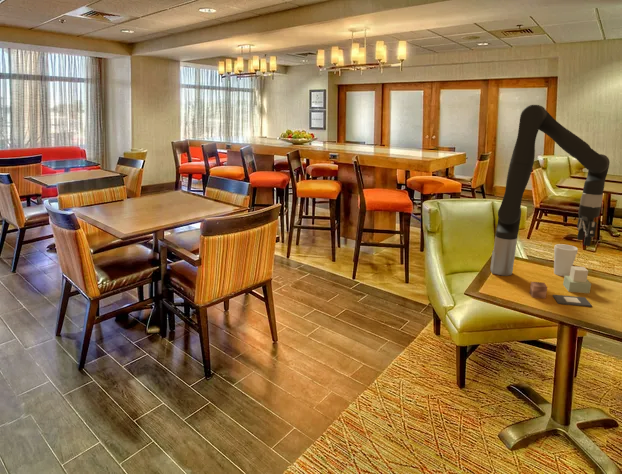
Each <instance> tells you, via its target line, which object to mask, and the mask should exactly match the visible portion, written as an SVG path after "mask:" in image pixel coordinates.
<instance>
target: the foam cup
mask: <svg viewBox="0 0 622 474" xmlns="http://www.w3.org/2000/svg"><path fill="white" fill-rule="evenodd" d="M578 250H579V249H578V247H577V246H576V245H575V246H574V245H571V244H570V245H569V244H563V243H558V244H554V247H553V253H554V254H553V255H554V256H553V260H554V261H553V274H554V275H556V276H560V277H564V276H570V270H571V266H574V262H575V260H576V256H577V254H578Z"/></svg>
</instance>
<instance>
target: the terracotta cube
mask: <svg viewBox="0 0 622 474" xmlns="http://www.w3.org/2000/svg"><path fill="white" fill-rule="evenodd" d="M529 288H530V289H529V294H530V296H531V298H536V299H544V300H545V299H546V298H547V292H548V286H547V285H546V283H545V282H539V281H530V287H529Z"/></svg>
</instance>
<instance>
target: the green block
mask: <svg viewBox="0 0 622 474" xmlns="http://www.w3.org/2000/svg"><path fill="white" fill-rule="evenodd" d="M569 276H570V275H569ZM569 276H563V277H564V278H563V283H562V285H563V287H564V288H565V289H566V290H567V291H568V293H570V292H571V293H579V294H580V293H583V294H590V291H591V287H592V283H591V282H590V281H589V280H588V279H587V281H586V282H577V281H573V280H572V279H571V278H570V277H569Z"/></svg>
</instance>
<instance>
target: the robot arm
mask: <svg viewBox="0 0 622 474" xmlns="http://www.w3.org/2000/svg"><path fill="white" fill-rule="evenodd" d="M539 131H541V132H542V133H544V134H545V135H547V136H548V137H549V138H550V139H551V140H553V142H555V143H556V144H557V145H558V146H559V148H561V149H562V150H563V151H564V152H566V153H567V154H568V155H570V156H571V157H573V158H574V159H575V160H577V161H578V163H580V164H581V165H582V166H583V167H584V168H585V169H587V176H586V179H585V180H584V183H583V189H582V193H581V197H580V202H579V206H578V207H579V208H578V212H577V213H578V220H577V225H576V228H577V231H578V232H577V236H576V237H577V238H576V239H577V240H578V241H579V240H581V241H583V246H585V247H589V246H591V242H592V238H594V237H595V235H596V230H597V224H598V223H597V221H594V219H595V218H599V217H600V214H601V208H602V204H603V197H604V196H603V195H604V190H605V183H606V178H607V175H608V172H609V169H610V163H611V162H610V159H609V157H608V156H607V155H605V154H601V153H599V152H597V151H596V150H594V149H593V148H591V146H590V145H589V144H588V143H587V142H586V141H585V140H583V139H582V138H580V137H579V136H578V135H576V134H575V133H573V132H572V131H570V130H569V129H568V128H566V127H565V126H563V125H562V124H561V123H560V122H559V121H557V120H556V119H555V118H554V117H553V116H552V115H551V114H550V113H549V111H548V110H546V108H545V107H544V106H542V105H540V104H529V105H527V106H526V107H524V108H523V109H522V111H521V113H520V116H519V124H518V131H517V137H516V142H515V144H514V147H513V151H512V154H511V157H510V161H509V164H508V165H509V166H508V170H507V175H506V176H507V177H506V182H505V189H504V190H505V191H504V195H503V198H502V200H501V203H500V206H499V209H498V210H497V217H498V218H497V224H496V229H495V235H494V236H495V238H494V245H493V250H491V251H492V252H491V253H492V254H491V261H490V268H489V269H490V272H491V274H494V275H499V276H503V277H505V276H507V277H508V276H512V275H513V272H514V271H513V270H514V264H515V256H516V249H517V241H518V236H519V235H518V234H519V230H520V225H521V218H522V217H521V215H522V208H521V207H522V200H523V196H524V193H525V190H526V187H527V185H528V183H529V180H530V177H531V175H532V172H533V167H534V164H535V163H534V162H535V156H536V140H537V136H538V132H539Z"/></svg>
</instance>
